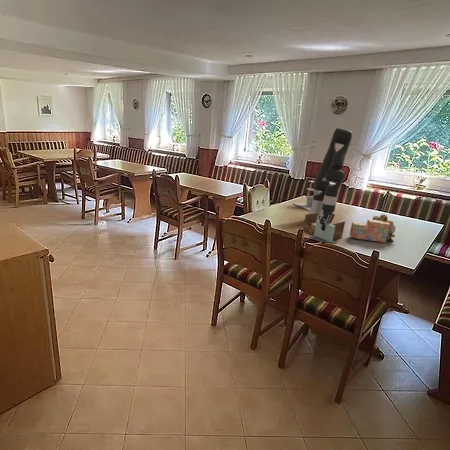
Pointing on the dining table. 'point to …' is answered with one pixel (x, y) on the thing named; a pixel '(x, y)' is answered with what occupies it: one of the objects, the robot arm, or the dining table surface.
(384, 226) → the stack of blocks
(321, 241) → the pad
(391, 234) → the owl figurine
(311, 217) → the rack
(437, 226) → the dining table surface
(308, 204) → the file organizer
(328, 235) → the panel
